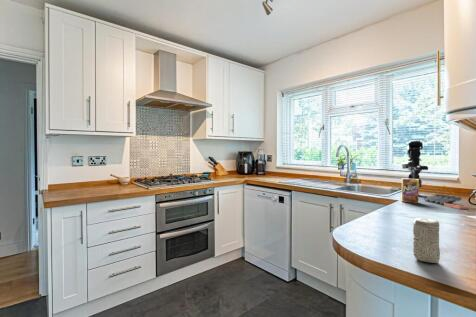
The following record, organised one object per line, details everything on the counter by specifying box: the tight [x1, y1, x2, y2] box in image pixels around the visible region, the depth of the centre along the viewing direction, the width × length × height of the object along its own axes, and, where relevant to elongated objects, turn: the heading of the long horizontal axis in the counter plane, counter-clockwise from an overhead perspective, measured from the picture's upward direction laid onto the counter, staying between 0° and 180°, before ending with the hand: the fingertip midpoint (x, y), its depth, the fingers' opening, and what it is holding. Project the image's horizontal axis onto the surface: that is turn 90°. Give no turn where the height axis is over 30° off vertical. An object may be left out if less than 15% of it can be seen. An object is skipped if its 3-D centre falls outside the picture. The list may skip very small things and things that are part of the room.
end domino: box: [443, 202, 469, 210], centre depth 146 cm, size 2×5×10 cm
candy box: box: [400, 178, 420, 204], centre depth 161 cm, size 9×4×15 cm, turn 60°
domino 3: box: [434, 195, 456, 204], centre depth 154 cm, size 2×5×10 cm
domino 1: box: [424, 193, 444, 202], centre depth 162 cm, size 2×5×10 cm
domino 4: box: [439, 196, 463, 205], centre depth 150 cm, size 2×5×10 cm
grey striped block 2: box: [429, 194, 450, 203], centre depth 158 cm, size 2×5×10 cm
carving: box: [412, 217, 441, 264], centre depth 72 cm, size 6×8×12 cm
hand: (414, 179), depth 179 cm, fingers closed
